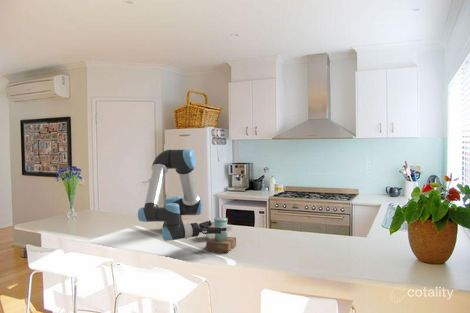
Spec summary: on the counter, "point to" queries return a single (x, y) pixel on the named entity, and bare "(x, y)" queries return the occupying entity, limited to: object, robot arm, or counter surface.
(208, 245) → the slab
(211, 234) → the lidded jar
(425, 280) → the counter surface
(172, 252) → the counter surface
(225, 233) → the canister
